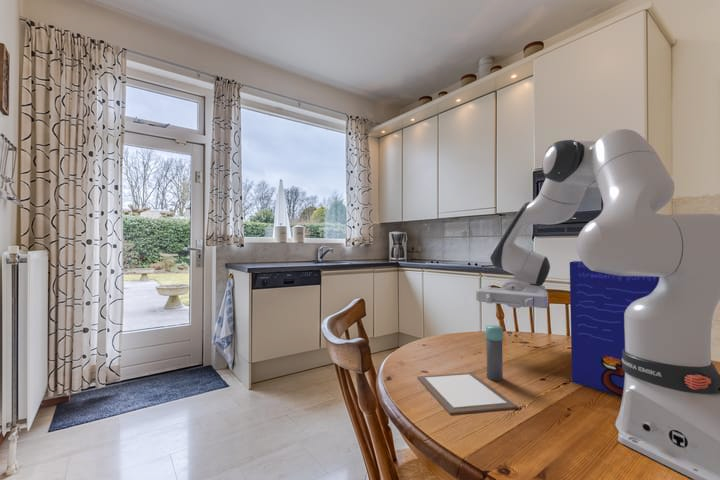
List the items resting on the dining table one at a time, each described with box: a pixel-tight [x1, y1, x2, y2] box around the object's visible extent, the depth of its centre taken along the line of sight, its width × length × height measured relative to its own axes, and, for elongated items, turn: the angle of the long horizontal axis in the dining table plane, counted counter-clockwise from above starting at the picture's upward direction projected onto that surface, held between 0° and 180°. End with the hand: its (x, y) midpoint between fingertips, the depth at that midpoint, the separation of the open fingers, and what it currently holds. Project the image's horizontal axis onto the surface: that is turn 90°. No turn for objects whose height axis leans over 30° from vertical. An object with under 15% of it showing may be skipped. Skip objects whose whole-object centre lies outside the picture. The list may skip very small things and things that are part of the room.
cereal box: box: [569, 260, 660, 398], centre depth 76 cm, size 22×6×30 cm, turn 36°
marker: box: [485, 324, 504, 382], centre depth 85 cm, size 4×4×13 cm
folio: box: [416, 372, 519, 415], centre depth 77 cm, size 19×15×1 cm
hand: (505, 302), depth 96 cm, fingers open, 8 cm apart
